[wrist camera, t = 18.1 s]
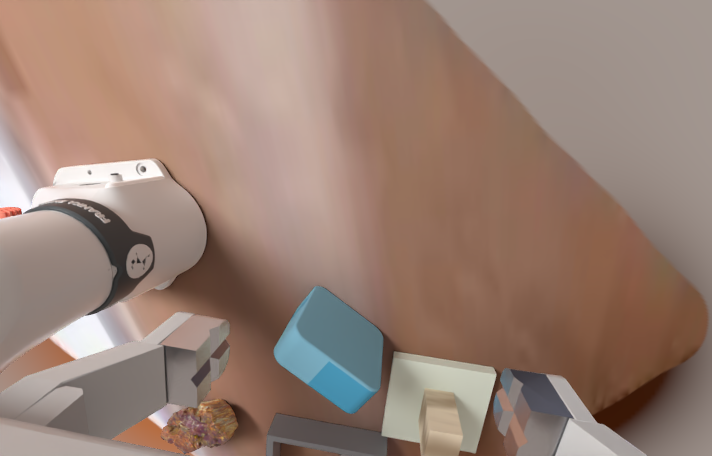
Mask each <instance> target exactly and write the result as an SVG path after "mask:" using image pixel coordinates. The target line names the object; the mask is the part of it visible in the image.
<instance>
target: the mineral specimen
mask: <svg viewBox="0 0 712 456" xmlns="http://www.w3.org/2000/svg"><path fill="white" fill-rule="evenodd" d="M167 424H168V425H167V426H165V427H164V428H163V431H162V433H161V438H162V439H163V440H166V441H168V443H174V444H175V445H176V446H177V448H178V449H180V450H181V451H182V452H183V453H184V454H186V453H189V452H192V451H195V450H197V449H199V448H201V447H203V446H208V447H210V448H212V447H214V446H216V447H217V446H220V445H221V444H225V443H226V442H227V441H228V440H230V439H231V437H232V436H233V434H234V432H235V430H236V429H237V428H238V423H237V420H236V417H235V413H234V412H233V410H232V408H231V407H230V405H229V404H227V403H226V401H225V400H220V399H216V400H212V401H202V402H201V404H200V405H199V406H198V408H193V407H188V408H186V409H182V410H180V411H178V412H175V413H174V414H173V416H171V418H170V419H169V421H168V422H167Z"/></svg>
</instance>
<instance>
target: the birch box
mask: <svg viewBox="0 0 712 456" xmlns="http://www.w3.org/2000/svg"><path fill="white" fill-rule="evenodd" d="M418 424H419V436H420V449H421V456H458V455H459V451H460V447H461V443H462V439H463V433H462V429H461V424H460V420H459V415H458V411H457V406H456V402H455V397H454V393H452V392H446V391H441V390H435V389H429V388H425V390H424V395H423V400H422V405H421V410H420V415H419V420H418Z"/></svg>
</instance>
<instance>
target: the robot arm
mask: <svg viewBox="0 0 712 456" xmlns="http://www.w3.org/2000/svg"><path fill="white" fill-rule="evenodd" d="M144 167H145V168H146V171H145V170H144ZM206 240H207V231H206V224H205V220H204V217H203V214H202V212H201V210H200V208H199V206H198V205H197V203H196V201H195V200H194V199H193V198H192V196H191V195H190V194H189V193H188V192H187V191H186V190H185V189H184V188H182V187H181V186H180V185H179V184H177V183H176V182H175V181H174V180H173V179H172V178H171V176H170V175H169V173H168V171H167V170H166V168H165V167H164V165H163V164H162V163H161V162H160V161H159V160H157V159H142V160H131V161H121V162H110V163H99V164H88V165H78V166H68V167H63V168H60V169H59V170H58V171H57V173H56V175H55V178H54V182H53V186H48V187H43V188H40V189H39V190H38V191H37V192H36V193H35V195H34V197H33V200H32V206H31V209H30V210H28V211H26V212H25V213H23V214H22V212H21V209H20V208H16V207H5V208H0V374H1V373H2V372H3V371H4V370H5V369H6V368H7V367H8V366H9V365H10V364H12V363H13V362H14V361H16V360H17V359H18V358H20V357H21V356H22V355H23V354H25V353H26V352H28V351H29V350H31V349H32V348H34V347H35V346H37V345H38V344H40V343H41V342H43V341H44V340H46V339H47V338H49V337H51V336H52V335H54V334H55V333H57V332H58V331H60V330H62V329H63V328H65V327H66V326H68V325H70V324H71V323H73V322H75V321H76V320H78V319H80V318H81V317H83V316H86V315H91V314H95V313H97V312H99V311H101V310H104V309H107V308H108V307H111V306H113V305H114V304H116V303H118V302H126V301H129V300H131V299H133V298H135V297H137V296H139V295H141V294H143V293H145V292H147V291H149V290H151V289H153V288H154V289H157V290H163V289H165V288H167V287H169V286H170V285H171V284H172V282H173V281H174V280H175V278H176V277H177V276H178V275H179V274H181V273H183V272H185V271H187V270H188V269H190V268H191V267H193V266H194V265H195V264H196V263H197V262H198V261H199V259H200V258H201V256H202V254H203V252H204V249H205V246H206ZM229 333H230V323H229V322H228V320H224V319H219V318H214V317H209V316H204V315H199V314H193V313H187V312H176V313H175V314H174V315H173V316H171V317H170V318H169V319H168V320H166V321H165V322H164V323H163V324H161V325H160V326H159V327H158V328H156V329H155V330H154V331H153V332H151V333H150V334H149V335H148V336H146V337H145V338H144V339H143V340H141V341H132V342H129V343H126V344H123V345H120V346H117V347H114V348H111V349H108V350H105V351H102V352H99V353H96V354H93V355H90V356H87V357H83V358H80V359H77V360H74V361H71V362H68V363H65V364H62V365H59V366H56V367H53V368H50V369H47V370H44V371H41V372H38V373H35V374H32V375H28V376H26V377H24V378H23V379H21V380H20V381H18V382H16V383H15V384H13V385H12V386H10V387H9V388H7V389H6V390H4V391H3V392H1V393H0V456H189V455H185V454H180V453H174V452H170V451H165V450H160V449H155V448H150V447H145V446H140V445H135V444H130V443H126V442H121V441H115V440H111V439H112V438H114V437H115V436H117V435H119V434H120V433H122V432H124V431H125V430H127V429H128V428H130V427H132V426H133V425H135V424H137V423H138V422H140V421H142V420H143V419H145V418H146V417H148V416H150V415H151V414H153V413H155V412H156V411H158V410H159V409H161V408H163V407H164V406H166V405H167V403H168V404H175V405H181V406H187V407H193V408H198V406H199V405H200V404H201V402H202V401H203V400H204V398H205V397H206V395H207V394H208V393H209V391H210V390H211V382H212V381H214V380H216V379H218V378H219V377H220V376H221V374H222V373H223V372H224V370H225V367H226V365H227V362H228V359H229V353H230V345H229V344H228V342H227V341H226V339H225V338H226V337H227V336H228V335H229ZM500 381H501V383H502V385H503V388H502V389H500V390H499V391H498V392H496V396H495V400H494V419H495V423H496V426H497V429H498V430H499V431H500V432H501V433H502V434H503V435H504V436H505V440H504V443H503V446H504V448H505V451H506V454H507V456H647V455H646V454H645V453H643V452H642V451H640V450H639V449H638V448H636V447H635V446H633V445H632V444H630V443H629V442H628V441H626V440H625V439H623V438H622V437H620V436H619V435H618V434H616V433H615V432H613V431H612V430H611V429H609V428H608V427H607V426H605V425H603V424H598V423H597V422H596V421H595V419H594V418H593V417H592V415H591V414H590V412H589V411H588V410H587V408H586V407H585V405H584V404H583V403H582V401H581V400H580V398H579V397H578V396H577V394H576V393H575V391H574V390H573V389H572V387H571V386H570V384H569V383H568V382H567V380H566V379H565V378H563V377H562V376H558V375H551V374H544V373H542V374H541V373H534V372H528V371H522V370H515V369H509V368H505V369H504V371H503V372H502V375H501V378H500Z"/></svg>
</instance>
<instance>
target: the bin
mask: <svg viewBox="0 0 712 456" xmlns="http://www.w3.org/2000/svg"><path fill="white" fill-rule="evenodd" d="M281 443H285V444H290V445H295V446H301V447H306V448H311V449H316V450H322V451H327V452H332V453H337V454H342V455H348V456H387V437H385V436H382V433H381V432H376V431H370V430H365V429H359V428H354V427H348V426H343V425H338V424H332V423H327V422H321V421H316V420H310V419H305V418H300V417H294V416H289V415H283V414H278V413H276V415H275V417H274V419H273V422H272V424H271V426H270V429H269V431H268V433H267V444H266V456H280V448H281Z"/></svg>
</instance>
